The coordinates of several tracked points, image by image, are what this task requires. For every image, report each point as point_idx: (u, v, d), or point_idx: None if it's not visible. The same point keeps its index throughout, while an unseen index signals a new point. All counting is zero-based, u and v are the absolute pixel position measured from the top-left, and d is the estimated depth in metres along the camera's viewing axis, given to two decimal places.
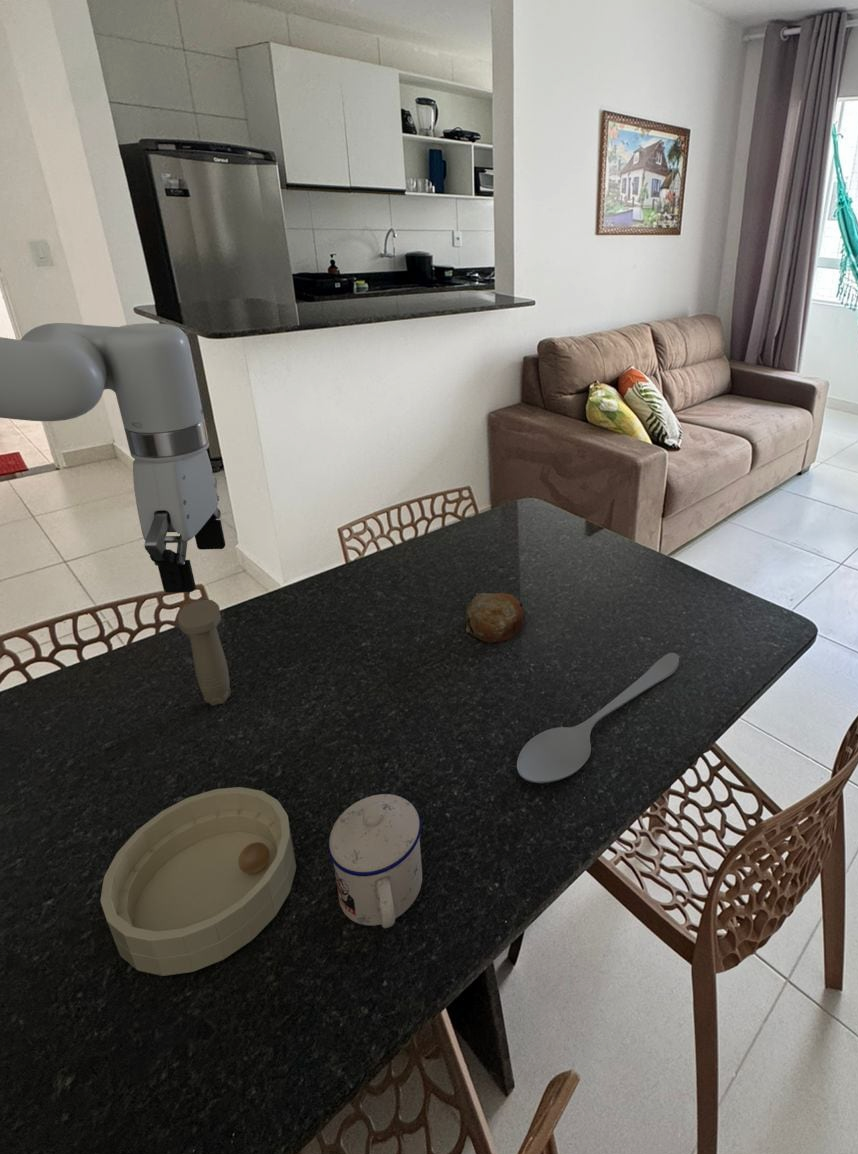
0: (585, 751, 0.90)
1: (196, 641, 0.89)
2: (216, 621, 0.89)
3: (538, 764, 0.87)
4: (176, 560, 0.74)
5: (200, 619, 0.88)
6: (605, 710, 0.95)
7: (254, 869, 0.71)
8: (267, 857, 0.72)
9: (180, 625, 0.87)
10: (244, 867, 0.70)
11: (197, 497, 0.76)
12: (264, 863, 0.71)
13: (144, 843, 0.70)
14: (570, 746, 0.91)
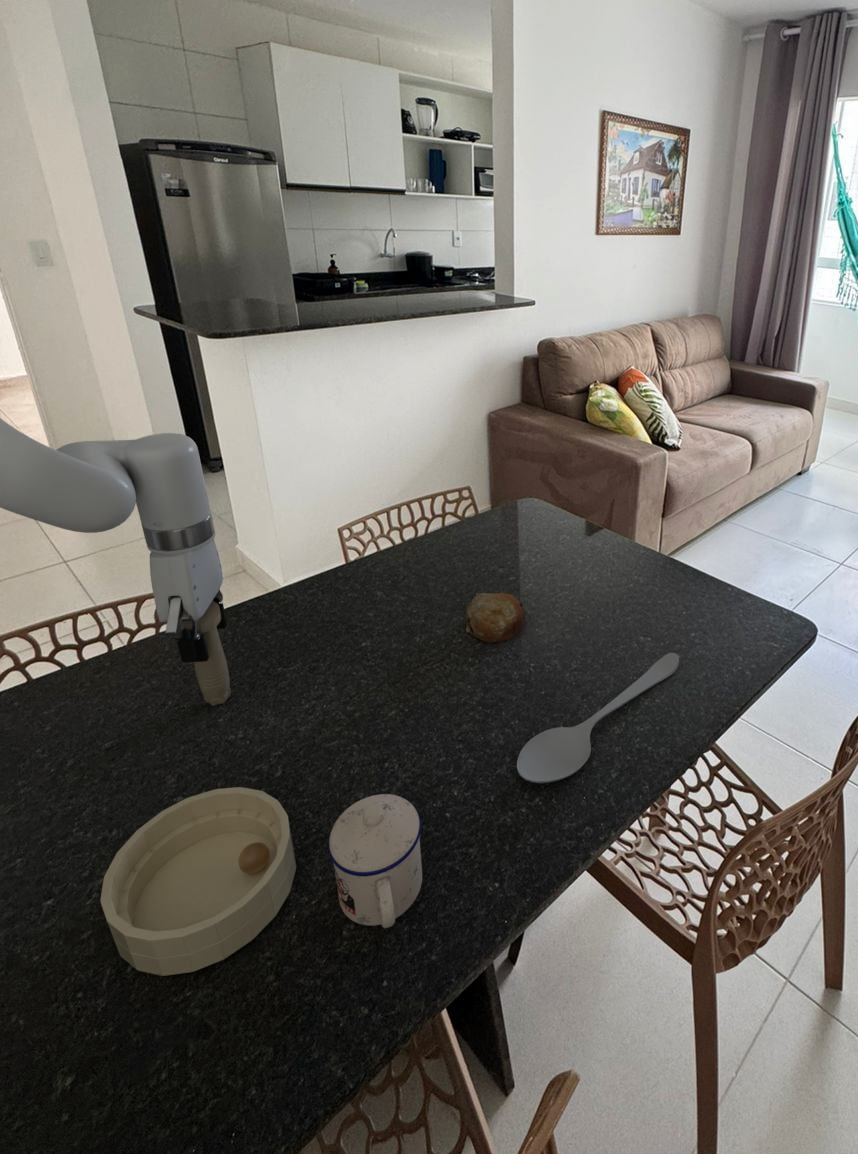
0: (585, 751, 0.90)
1: None
2: (216, 621, 0.89)
3: (538, 764, 0.87)
4: (193, 636, 0.85)
5: (200, 619, 0.88)
6: (605, 710, 0.95)
7: (254, 869, 0.71)
8: (267, 857, 0.72)
9: None
10: (244, 867, 0.70)
11: (205, 580, 0.86)
12: (264, 863, 0.71)
13: (144, 843, 0.70)
14: (570, 746, 0.91)
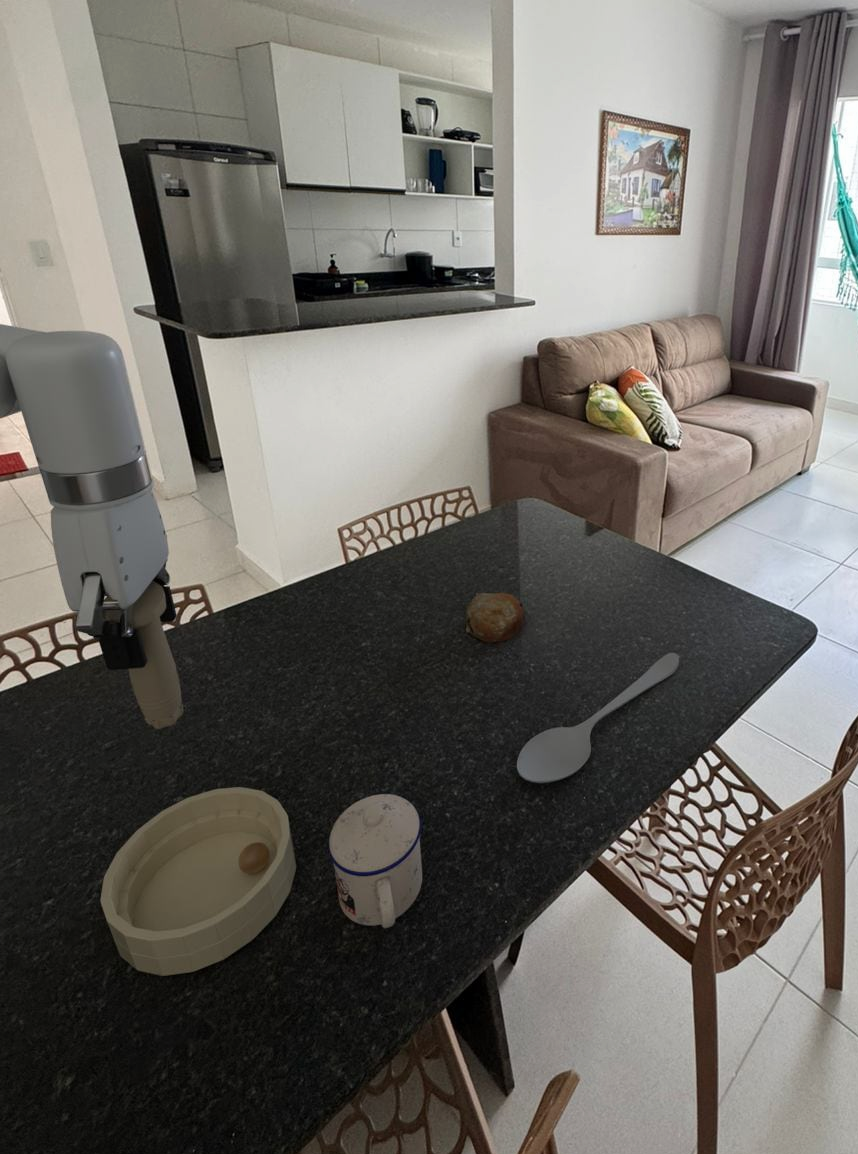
0: (585, 751, 0.90)
1: None
2: (158, 610, 0.63)
3: (538, 764, 0.87)
4: (121, 632, 0.59)
5: (135, 607, 0.62)
6: (605, 710, 0.95)
7: (254, 869, 0.71)
8: (267, 857, 0.72)
9: None
10: (244, 867, 0.70)
11: (139, 551, 0.60)
12: (264, 863, 0.71)
13: (144, 843, 0.70)
14: (570, 746, 0.91)
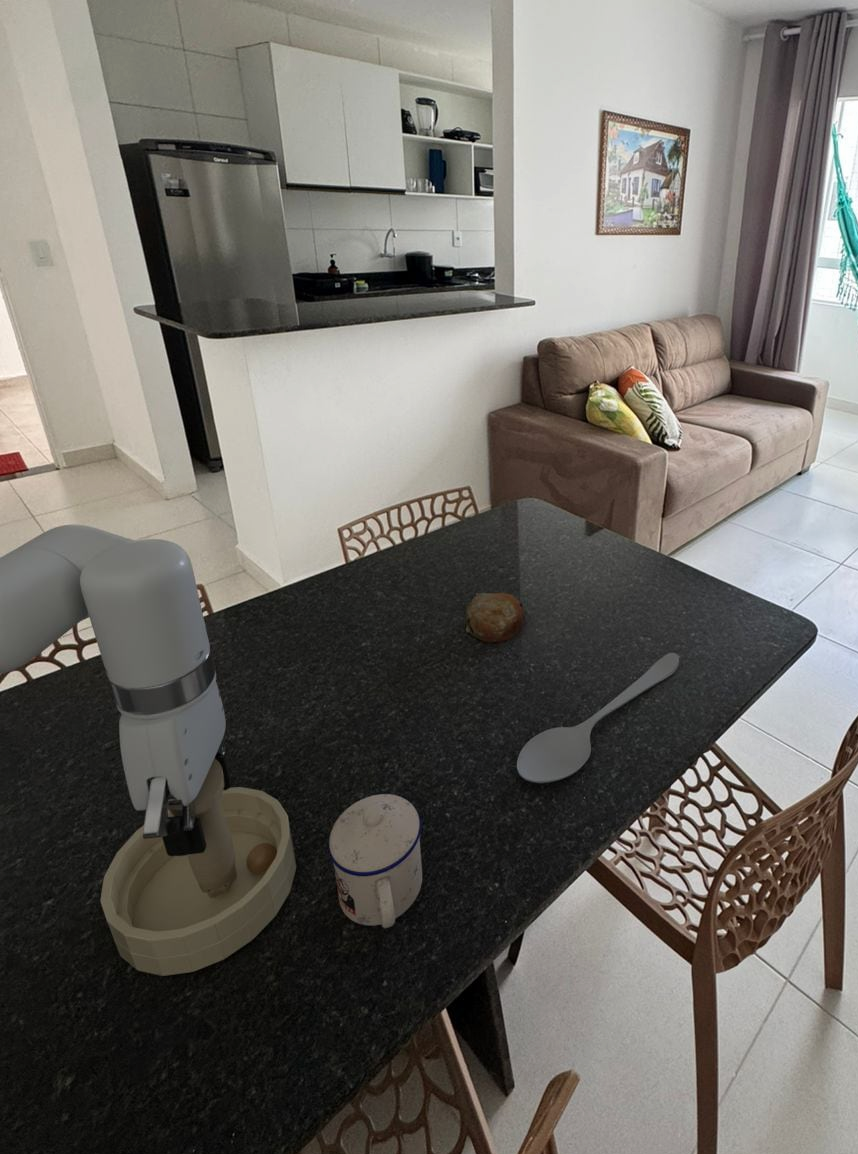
0: (585, 751, 0.90)
1: None
2: (218, 793, 0.63)
3: (538, 764, 0.87)
4: (183, 827, 0.59)
5: None
6: (605, 710, 0.95)
7: (262, 873, 0.71)
8: None
9: None
10: (254, 868, 0.70)
11: (202, 744, 0.60)
12: None
13: (144, 843, 0.70)
14: (570, 746, 0.91)
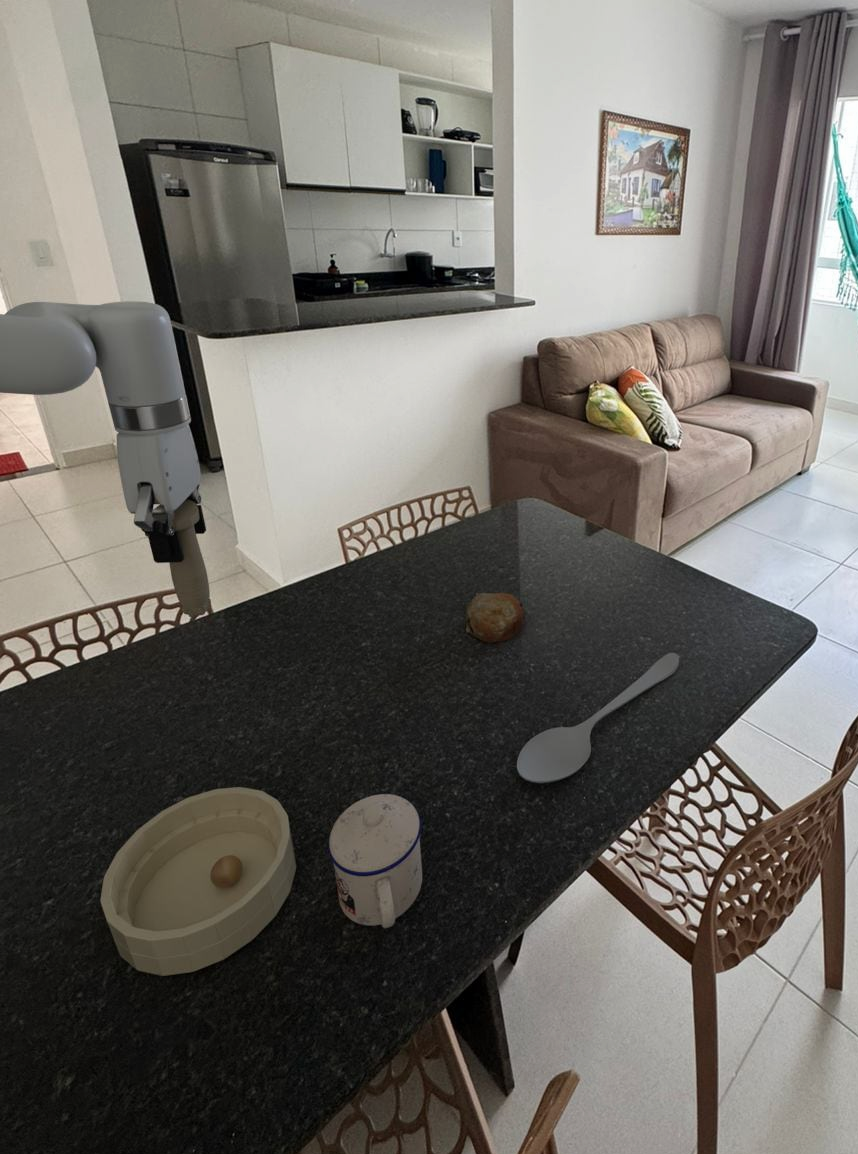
0: (585, 751, 0.90)
1: None
2: (194, 519, 0.81)
3: (538, 764, 0.87)
4: (165, 531, 0.78)
5: (176, 516, 0.81)
6: (605, 710, 0.95)
7: (230, 880, 0.69)
8: (221, 869, 0.69)
9: None
10: None
11: (179, 470, 0.78)
12: (226, 872, 0.69)
13: (144, 843, 0.70)
14: (570, 746, 0.91)
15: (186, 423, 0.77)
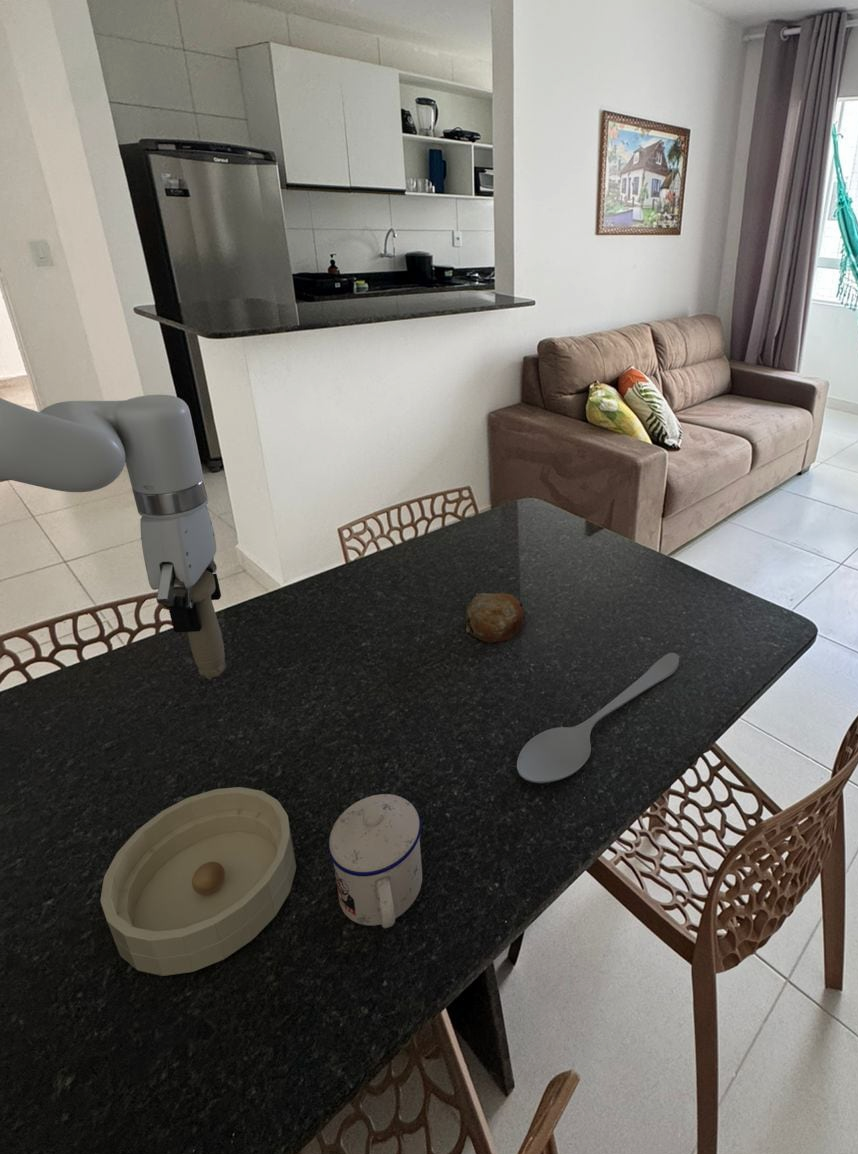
0: (585, 751, 0.90)
1: None
2: (211, 590, 0.87)
3: (538, 764, 0.87)
4: (185, 605, 0.83)
5: (194, 588, 0.86)
6: (605, 710, 0.95)
7: (207, 887, 0.68)
8: (193, 886, 0.68)
9: (174, 593, 0.85)
10: (217, 886, 0.69)
11: (198, 547, 0.84)
12: (197, 886, 0.68)
13: (144, 843, 0.70)
14: (570, 746, 0.91)
15: (204, 504, 0.83)
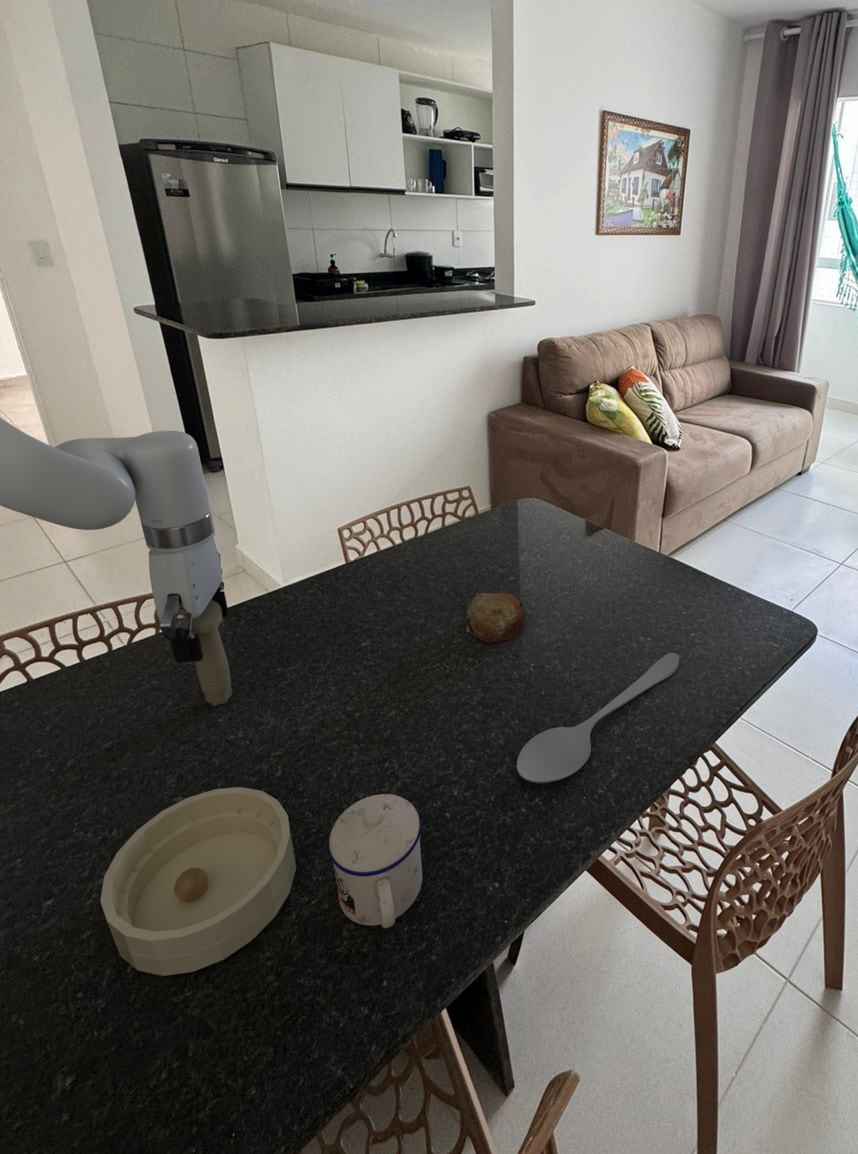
0: (585, 751, 0.90)
1: None
2: (217, 621, 0.89)
3: (538, 764, 0.87)
4: (186, 636, 0.84)
5: (202, 619, 0.88)
6: (605, 710, 0.95)
7: (185, 896, 0.67)
8: None
9: (181, 625, 0.87)
10: (196, 888, 0.68)
11: (204, 578, 0.86)
12: (180, 899, 0.68)
13: (144, 843, 0.70)
14: (570, 746, 0.91)
15: (211, 536, 0.85)
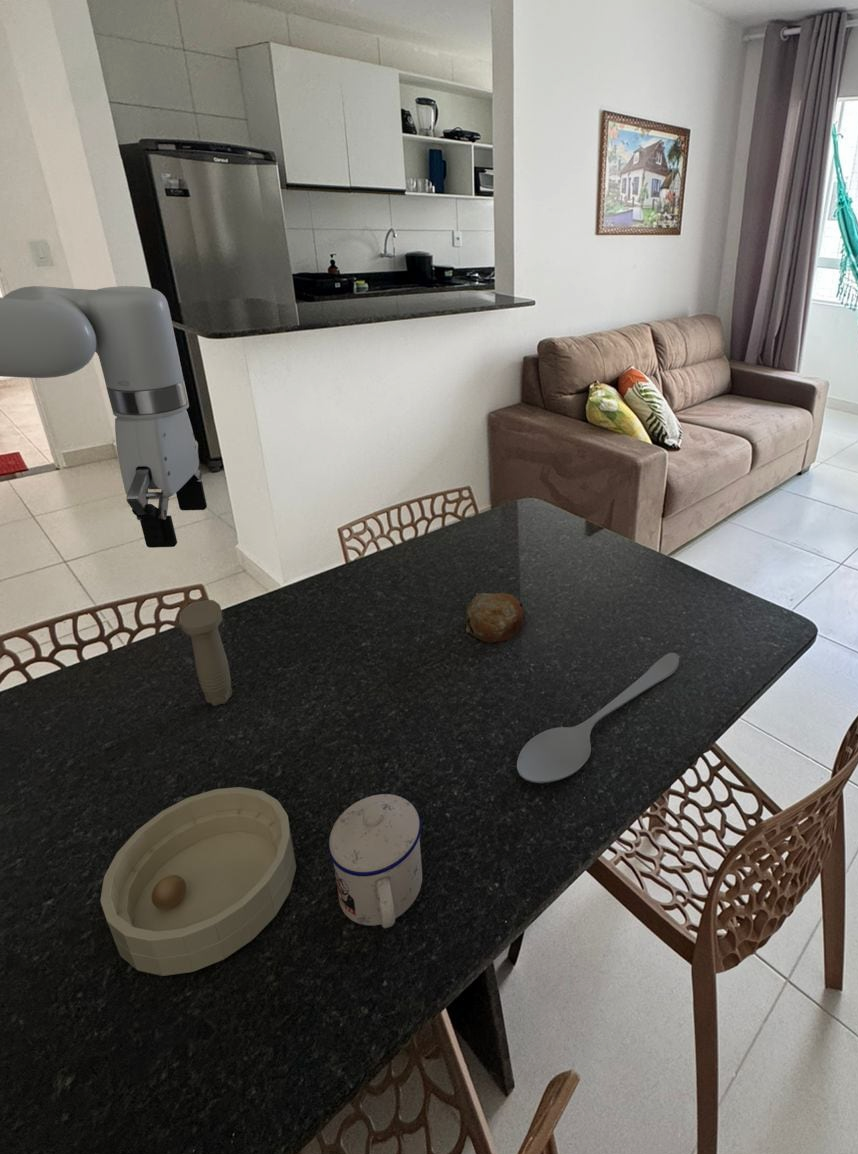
0: (585, 751, 0.90)
1: (197, 641, 0.89)
2: (217, 621, 0.89)
3: (538, 764, 0.87)
4: (158, 515, 0.77)
5: (201, 619, 0.88)
6: (605, 710, 0.95)
7: (165, 907, 0.67)
8: (179, 901, 0.68)
9: (181, 625, 0.87)
10: (162, 899, 0.67)
11: (178, 455, 0.79)
12: (173, 906, 0.68)
13: (144, 843, 0.70)
14: (570, 746, 0.91)
15: (184, 408, 0.78)
